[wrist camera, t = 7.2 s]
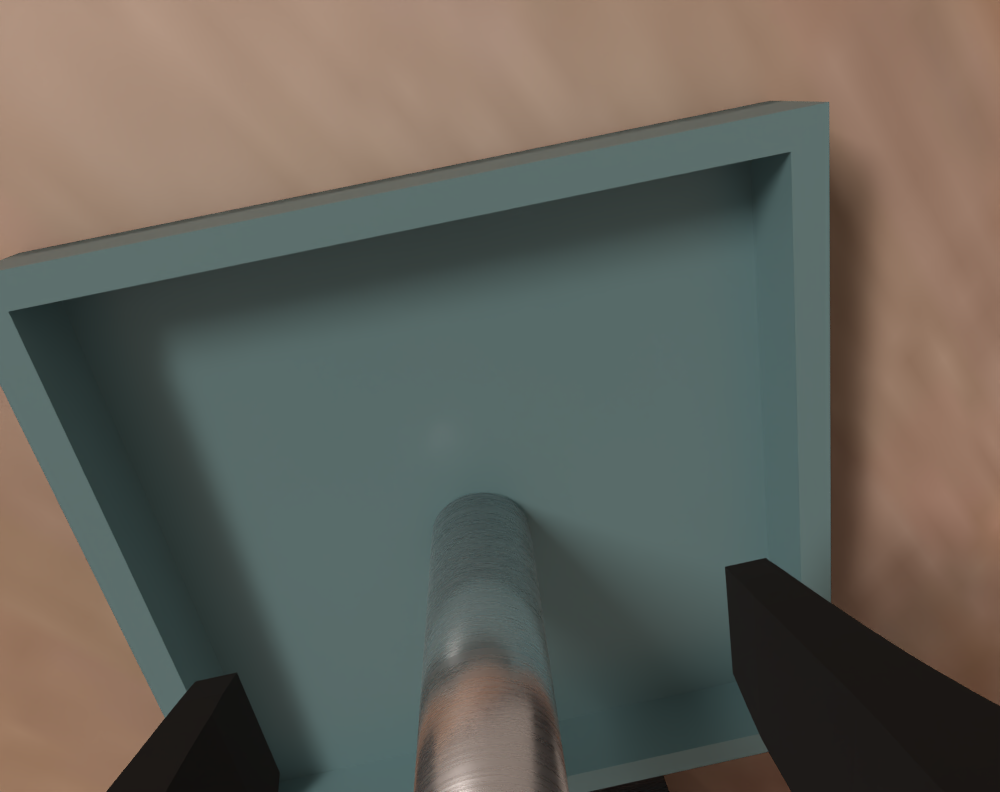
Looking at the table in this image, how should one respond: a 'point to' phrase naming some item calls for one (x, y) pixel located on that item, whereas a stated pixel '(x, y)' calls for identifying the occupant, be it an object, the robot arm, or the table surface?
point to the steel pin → (486, 658)
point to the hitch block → (639, 786)
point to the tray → (452, 429)
